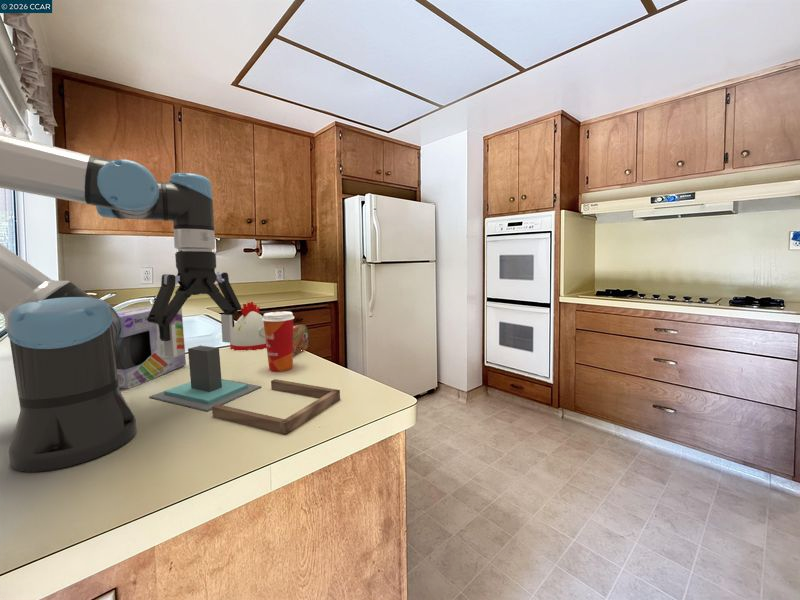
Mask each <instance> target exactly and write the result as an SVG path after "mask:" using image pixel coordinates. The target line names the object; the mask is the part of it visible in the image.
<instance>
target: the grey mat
mask: <svg viewBox="0 0 800 600" xmlns="http://www.w3.org/2000/svg"><path fill="white" fill-rule="evenodd" d="M221 380H225V381H231V382H236V383H242V384H247V385H248V388H247V389H244V390H242V391H240V392H237V393H235V394H233V395H230V396H228V397H226V398H223V399H221V400H219V401H216V402H214V403H212V404H209V405H208V404H204V403H199V402H195V401H191V400H186V399H182V398H177V397H173V396H169V395H164V391H161V392H158V393H155V394H153V395H149V399H153V400H157V401H161V402H166V403H170V404H175V405H178V406H182V407H187V408H191V409H194V410H195V409H196V410H199V411H204V412H209V411H212V406H214V405H217V404H219V405H223V406H224V405H225V404H228V403H230V402H232V401H235V400H236V398H237V399H239V398H241V397H243V396H245V394H246V395H248V394H250V393H253V392H255V391H257V390H259V389H262V386H261V385H257V384H253V383H252V384H251V383H247V382H240V381H235V380H229V379H223V378H221ZM247 393H248V394H247ZM238 397H239V398H238Z"/></svg>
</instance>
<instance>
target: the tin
mask: <svg viewBox="0 0 800 600" xmlns="http://www.w3.org/2000/svg"><path fill="white" fill-rule="evenodd" d="M309 344H310V332H309V328H308V327H307V325H305V324H296V325H293V358H294V357H296V356H298V355H300V354H301V353H302V352H303V351H306V350H307V349H308V347H309ZM301 350H302V351H301Z"/></svg>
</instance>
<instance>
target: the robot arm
mask: <svg viewBox="0 0 800 600" xmlns="http://www.w3.org/2000/svg"><path fill="white" fill-rule="evenodd" d="M0 189H4V190H5V189H6V190H10V191H15V192H21V193H26V194H31V195H37V196H43V197H48V198H54V199H59V200H64V201H70V202H76V203H81V204H85V205H91V206H95V208H96V212H97V214H98V215H99V216H101V217H102V218H109V219H118V220H125V219H127V220H142V221H144V220H145V221H146V220H147V221H164V222H167V221H168V222H172V224H173V226H172V227H173V241H174V242H173V243H174V249H176V250H177V251H176V253H175V254H174V255H175V256H174V257H175V267H176V269H177V274H176V275H175V274H167V273H166V274H162V275H161V281H160V282H161V283H160V284H161V285H160V288H159V290H158V293H157V295H156V298H155V300H154V302H153V305H152V306H153V307H152V306H151V307H152V309H151V311H150V314H149V316H148V319H147V320H148V322H151V323H156V324H158V325H159V333H160V339H161V341H164V349H165V356H170V357H176V356H177V344H176V329H175V324H170V323H171V322H172V320H173V319H174V318H175V316H176V315H177V313H178V312H179V310H180V309H181V307H182V308H183V306H184V304H185V303H186V301H187V300H188V299H190V297H192V296H198V295H208V296H209V298H210V299H212V300H213V301H214V303H215V304H216V305H217V306H218V308H219V309H220V310H221V311H222V312H223V313H222V314H220V319H221V339H222V342H223V343H229V344H230V343H232V342H233V327H234V325H235V315H238V313H239V311H241V308H242V306H241V304H240V302H239V299H238V297H237V295H236V294H235V293H236V292H235V291H234V289H233V287H232V284H231V283H230V279H229V278H230V277H229V274H228V272H219V271H218V272H215V270H216V269H217V255H216V253H215V251H213V250H214V249H216V240H215V239H216V237H215V236H216V235H215V221H214V220H215V217H214V214H215V213H214V197H213V191H212V183H211V181H210V179H209V178H208V177H206V176H204V175H201V174H198V173H189V172H185V173H184V172H175V173H172V174H171V175H170V176H169V182H162V181H161V182H159V181H157V180H156V178H155V177H154V175H153V173H152V172H151V171H150V170H149V169H148V168H147V167H145V166H144V165H143V164H140V163H138V162H136V161H134V160H129V159H124V158H123V159H114V160H110V159H106V158H102V157H98V156H93V155H89V154H86V153H82V152H77V151H73V150H69V149H66V148H61V147H58V146H53V145H49V144H46V143H41V142H38V141H34V140H30V139H25V138H22V137H17V136H13V135H9V134H5V133H1V132H0ZM216 283H217V285H218V287H217V285H216ZM176 285H179V287H178V288H177V289H176V291H175V292H174V290H175V287H176ZM173 294H174V295H173ZM172 296H173V297H172ZM171 298H172V299H171ZM117 313H118V312H117V311H116V309H115V308H114V307H113V306H111V305H110V304H109V303H108V302H106V301H105V300H104V299H100V298H95V297H93V296H91V295H89V294H88V293H87V292H86V291H84V290H83V289H81V288H80V287H78V286H77V285H76V284H74V283H73V282H72V281H70V280H54V279H52V278H50V277H48V276H47V275H46V274H44V273H43V272H41V271H40V270H38V269H37V268H36V267H34V266H32V265H31V264H30V263H29V262H27V261H26V260H24V259H22V257H20V256H19V255H18V254H16V253H14V252H13V251H11V250H10V249H8V248H7V247H5V246H4V245H2V243H0V314H1V315H3V318H4V324H5V325H4V327H5V330H6V334H7V337H8V339H9V343H10V351H11V355H12V365H13V370H14V377H15V382H16V389H17V395H18V402H19V409H20V410H19V413H18V418H17V422H16V425H15V428H14V432H13V435H12V439H11V440H10V444H9V449H8V455H9V457H8V458H9V462H10V463H9V464H10V467H11V468H12V469H14V470H15V471H20V472H24V473H25V472H26V473H27V472H29V473H30V472H32V473H35V472H46V471H52V470H57V469H63V468H68V467H72V466H75V465H78V464H82V463H85V462H89V461H90V460H94V459H97V458H99V457H102V456H104V455H107V454H109V453H111V452H113V451H115V450H117V449H119V448H121V447H122V446H123V445H125V444H127V443H128V442H129V441H131V440H132V439H133V438H134V437H135V435H136V434H137V431H138V430H137V424H136V423H137V422H136V417H135V415H134V414H133V412H132V410H131V408H130V406H129V405H128V403H127V401H126V399H125V397H124V396H123V394H122V393H121V389H120V388H119V385H118V375H117V366H116V357H115V345H116V344H117V342H118V340H119V339H120V336H121V332H122V325H121V320H120V317H119V315H118V314H117Z"/></svg>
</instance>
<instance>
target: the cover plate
mask: <svg viewBox="0 0 800 600" xmlns="http://www.w3.org/2000/svg"><path fill="white" fill-rule="evenodd" d="M187 352H188V353H187V354H188V365H189V366H188V367H189V376H190V381H188V382H187V383H183V384H180V385H177V386H175V387H172V388H170V389H169V388H168V389H166V390H164V391H163V392H164V395H169V396H173V397H177V398H182V399H186V400H191V401H195V402H199V403H204V404H208V405H209V404H212V403H214V402H216V401H219V400H221V399H223V398H226V397H228V396H230V395H233V394H235V393H237V392H240V391H242V390H244V389H247V388H248V385H247V384H248V383H246V384H242V383H243V382H241V383H236V382H237V381H235V382H231V381H232V380H230V381H225V380H226V379H224V380H221V379H222V372H221V371H222V370H221V367H222V366H221V358H220V357H221V356H220V348H219V347H215V346H214V347H213V346H209V345H208V346H207V345H197V346H193V347H189V348H188V349H187Z"/></svg>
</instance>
